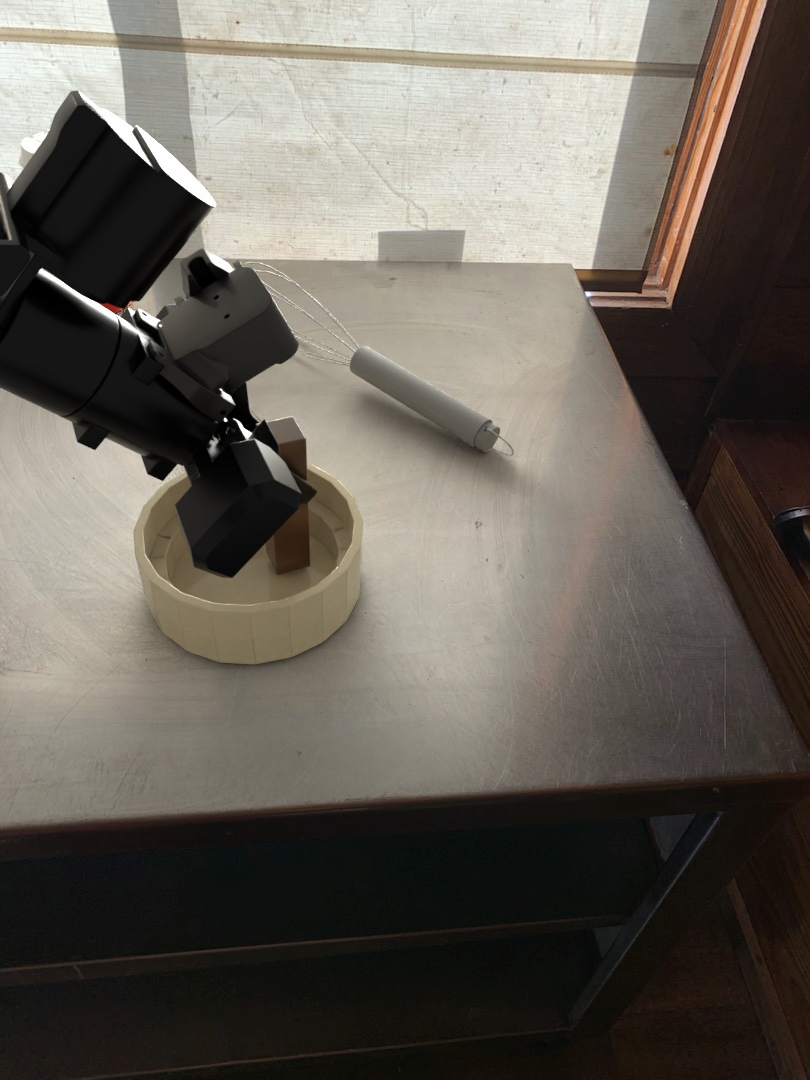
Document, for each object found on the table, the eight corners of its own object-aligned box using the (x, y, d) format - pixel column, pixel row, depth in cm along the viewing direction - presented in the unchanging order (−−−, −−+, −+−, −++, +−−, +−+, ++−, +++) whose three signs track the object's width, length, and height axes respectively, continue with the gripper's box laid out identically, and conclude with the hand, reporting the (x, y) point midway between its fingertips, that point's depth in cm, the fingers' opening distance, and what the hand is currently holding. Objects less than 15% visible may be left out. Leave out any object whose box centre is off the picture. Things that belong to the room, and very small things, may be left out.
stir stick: (276, 576, 53) (266, 447, 45) (266, 552, 55) (254, 423, 47) (310, 566, 54) (306, 438, 46) (299, 543, 55) (293, 415, 48)
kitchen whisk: (490, 481, 63) (501, 416, 59) (210, 326, 77) (202, 264, 73) (532, 447, 67) (545, 383, 62) (256, 304, 81) (251, 244, 76)
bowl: (156, 689, 47) (140, 632, 44) (142, 528, 57) (128, 470, 53) (383, 644, 51) (387, 588, 47) (335, 499, 60) (334, 443, 56)
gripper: (243, 337, 31) (461, 486, 42) (144, 162, 42) (336, 316, 54) (77, 531, 34) (323, 621, 45) (28, 318, 45) (233, 432, 57)
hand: (304, 482), depth 50 cm, fingers closed on stir stick, 2 cm apart
